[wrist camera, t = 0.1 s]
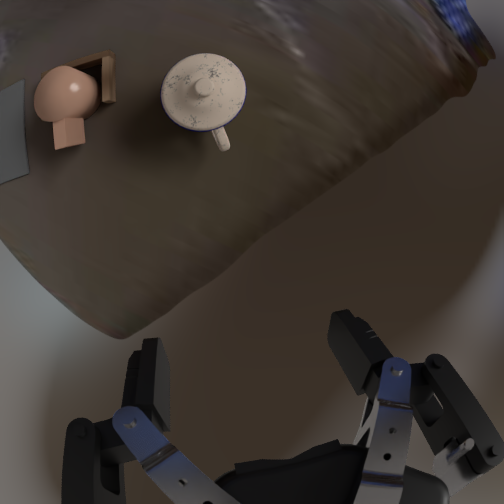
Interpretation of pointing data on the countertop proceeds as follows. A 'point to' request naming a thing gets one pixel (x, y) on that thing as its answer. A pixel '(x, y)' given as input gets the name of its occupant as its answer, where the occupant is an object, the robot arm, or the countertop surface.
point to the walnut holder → (107, 71)
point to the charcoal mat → (12, 133)
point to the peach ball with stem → (67, 103)
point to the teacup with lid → (204, 94)
